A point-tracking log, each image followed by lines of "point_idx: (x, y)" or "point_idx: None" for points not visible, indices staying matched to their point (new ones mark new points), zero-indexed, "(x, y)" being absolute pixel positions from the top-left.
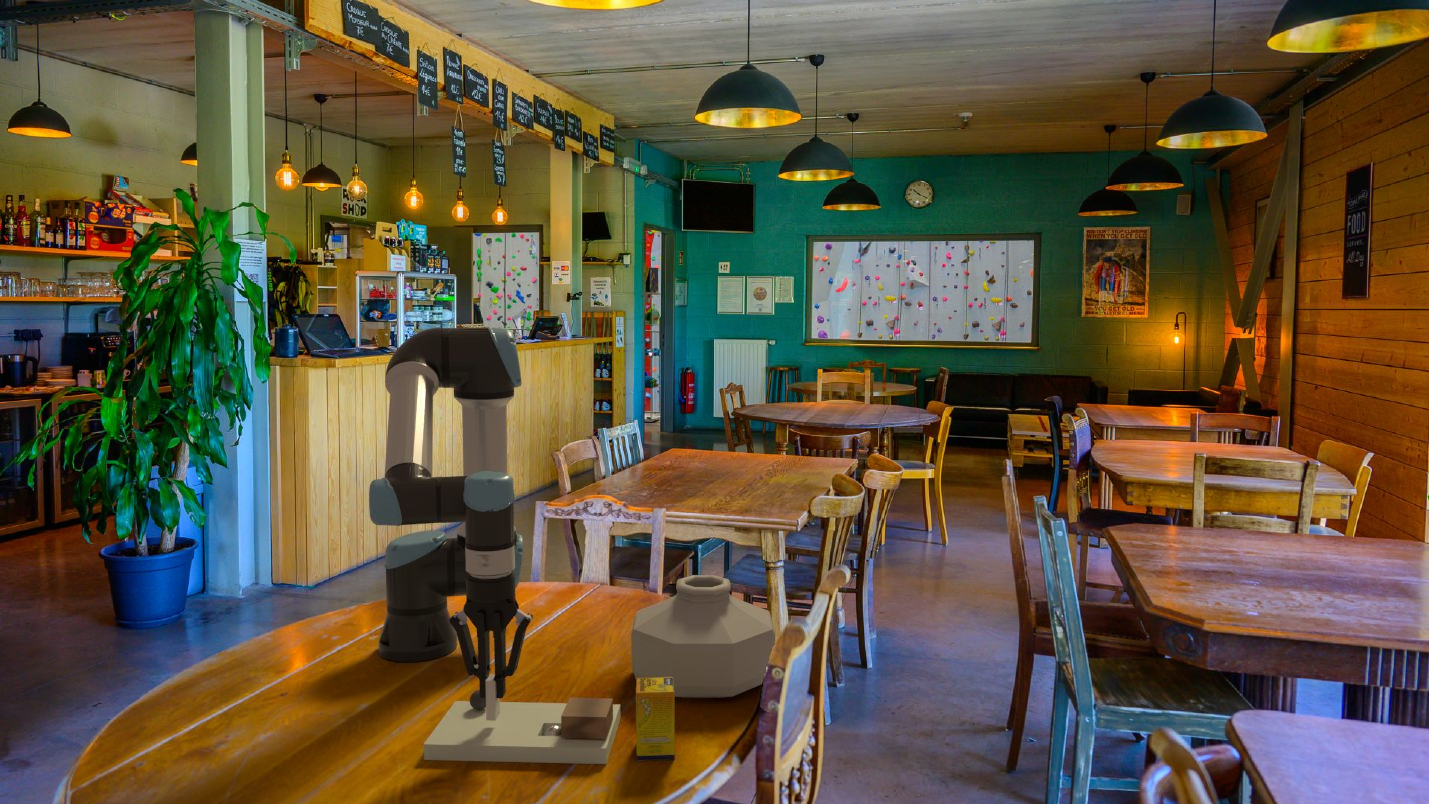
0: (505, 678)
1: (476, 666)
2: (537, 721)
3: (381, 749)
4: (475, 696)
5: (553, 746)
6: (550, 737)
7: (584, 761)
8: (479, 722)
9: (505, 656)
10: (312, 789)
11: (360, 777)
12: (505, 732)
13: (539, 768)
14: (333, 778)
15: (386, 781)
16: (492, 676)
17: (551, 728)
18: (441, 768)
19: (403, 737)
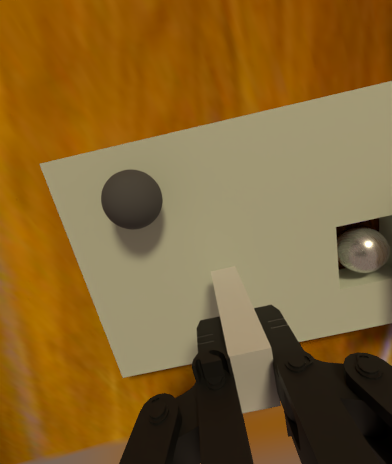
0: (302, 349)
1: (187, 454)
2: (317, 223)
3: (28, 340)
4: (128, 227)
5: (386, 321)
6: (370, 289)
7: None
8: (180, 265)
9: (370, 456)
10: (31, 455)
11: (70, 417)
12: (262, 293)
13: None
14: (33, 428)
15: (117, 416)
16: (252, 376)
17: (371, 266)
18: None
19: (29, 291)
